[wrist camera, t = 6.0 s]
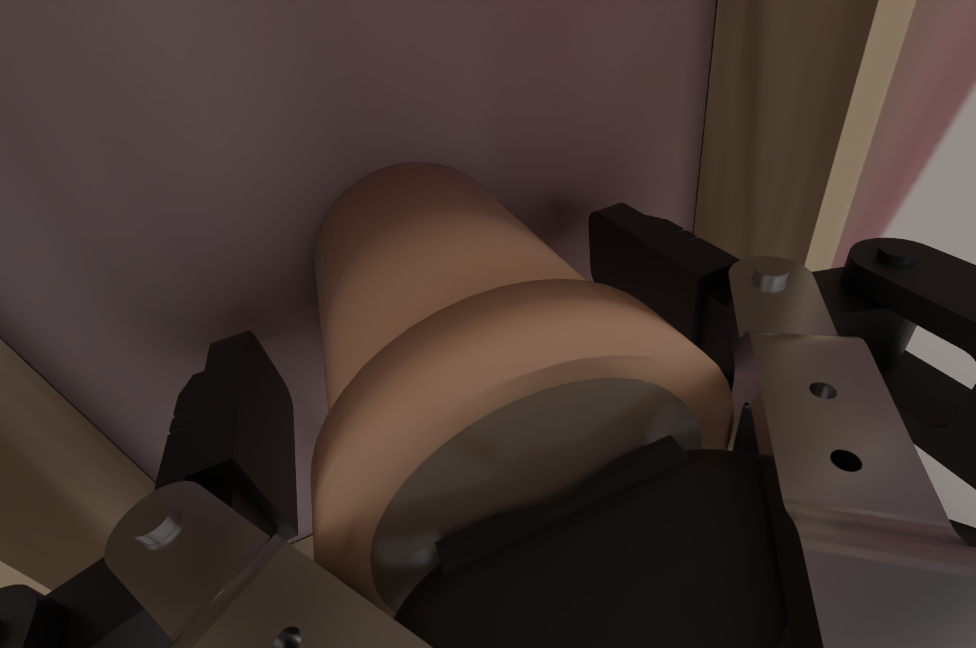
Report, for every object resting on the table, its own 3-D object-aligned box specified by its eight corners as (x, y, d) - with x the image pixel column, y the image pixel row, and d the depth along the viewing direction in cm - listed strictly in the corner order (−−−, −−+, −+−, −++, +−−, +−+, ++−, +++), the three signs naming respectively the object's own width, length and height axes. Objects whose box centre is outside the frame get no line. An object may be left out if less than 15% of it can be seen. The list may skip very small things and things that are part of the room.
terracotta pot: (356, 380, 14) (412, 693, 7) (254, 197, 10) (194, 495, 4) (533, 308, 15) (720, 536, 8) (495, 116, 11) (769, 255, 5)
